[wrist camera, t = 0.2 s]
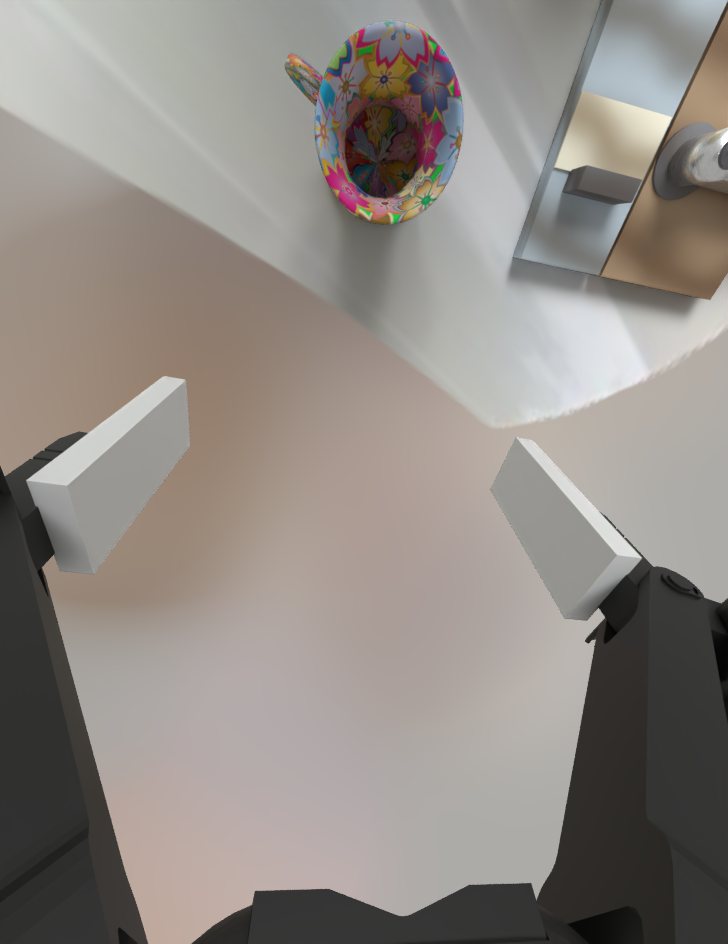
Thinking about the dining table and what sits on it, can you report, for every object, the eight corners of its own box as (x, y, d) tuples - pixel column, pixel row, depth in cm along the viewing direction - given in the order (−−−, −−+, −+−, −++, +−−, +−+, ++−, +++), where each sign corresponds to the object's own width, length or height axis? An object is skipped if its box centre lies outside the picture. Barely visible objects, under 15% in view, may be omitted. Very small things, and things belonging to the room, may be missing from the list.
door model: (619, -51, 25) (668, -102, 21) (856, 34, 28) (935, 2, 24) (512, 257, 35) (532, 259, 32) (694, 296, 38) (732, 303, 34)
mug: (451, 139, 30) (495, 98, 22) (392, 249, 35) (408, 253, 26) (326, 27, 27) (316, -79, 18) (276, 166, 31) (249, 137, 22)
